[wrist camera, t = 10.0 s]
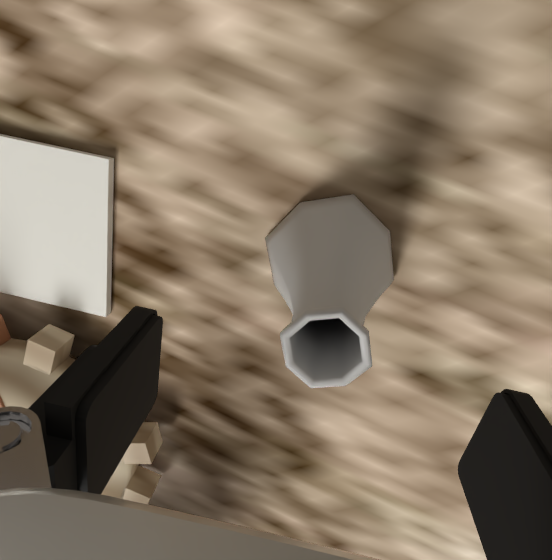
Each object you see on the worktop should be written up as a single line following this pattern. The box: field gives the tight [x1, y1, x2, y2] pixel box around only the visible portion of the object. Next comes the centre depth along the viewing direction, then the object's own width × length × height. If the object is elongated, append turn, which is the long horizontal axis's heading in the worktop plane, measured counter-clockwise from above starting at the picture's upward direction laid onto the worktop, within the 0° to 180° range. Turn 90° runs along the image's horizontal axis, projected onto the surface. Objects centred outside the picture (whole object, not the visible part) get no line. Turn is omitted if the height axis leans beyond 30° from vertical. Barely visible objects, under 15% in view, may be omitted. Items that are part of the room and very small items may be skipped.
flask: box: [265, 194, 394, 388], centre depth 19 cm, size 7×7×10 cm
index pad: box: [0, 134, 114, 317], centre depth 25 cm, size 10×10×1 cm
